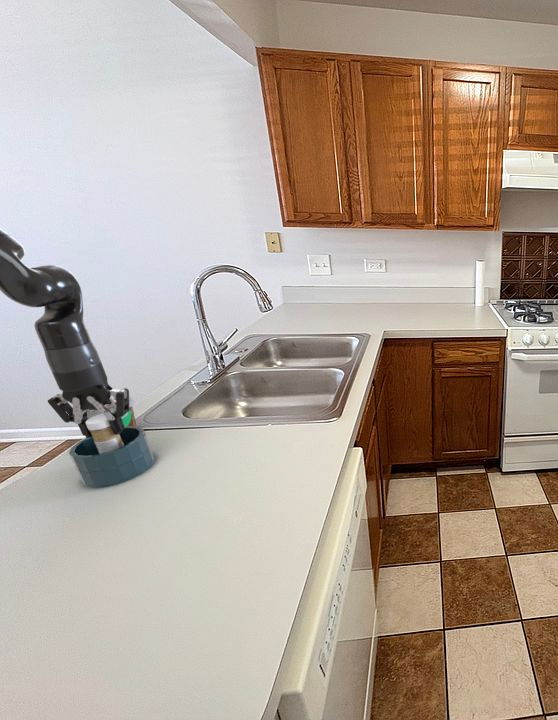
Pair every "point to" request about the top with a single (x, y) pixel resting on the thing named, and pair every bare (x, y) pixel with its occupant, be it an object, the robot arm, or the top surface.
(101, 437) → the sprinkles bottle
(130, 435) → the pot
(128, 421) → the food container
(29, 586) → the top surface
